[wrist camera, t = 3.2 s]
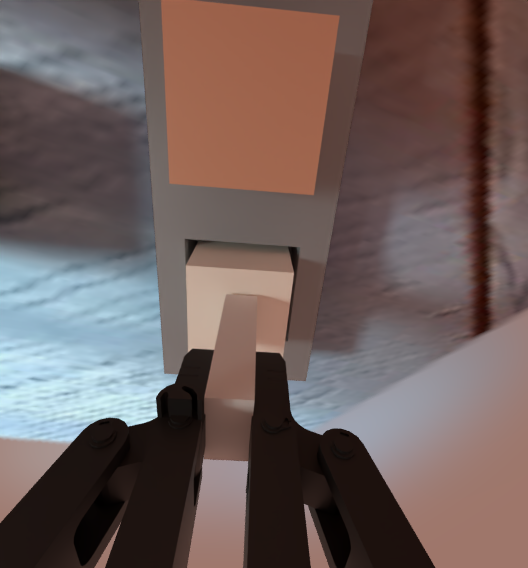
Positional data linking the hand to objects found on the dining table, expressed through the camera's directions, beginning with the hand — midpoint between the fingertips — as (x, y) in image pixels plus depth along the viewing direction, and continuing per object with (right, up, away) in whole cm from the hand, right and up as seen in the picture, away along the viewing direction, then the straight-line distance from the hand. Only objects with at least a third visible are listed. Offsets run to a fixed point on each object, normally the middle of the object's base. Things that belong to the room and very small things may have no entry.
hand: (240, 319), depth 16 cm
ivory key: (0, +2, +5) cm, 5 cm away
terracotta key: (+1, +9, -1) cm, 10 cm away
